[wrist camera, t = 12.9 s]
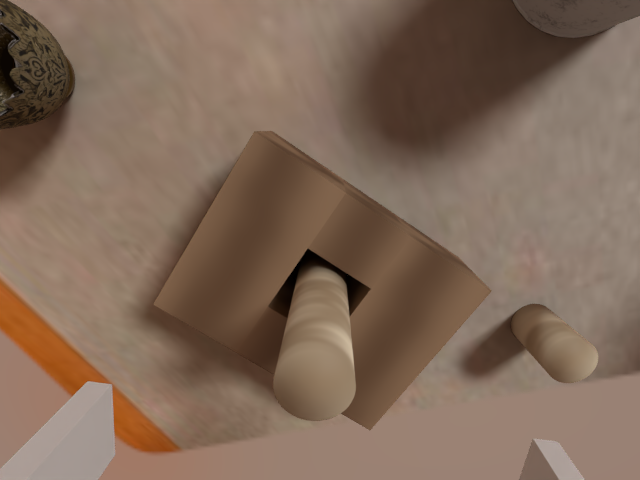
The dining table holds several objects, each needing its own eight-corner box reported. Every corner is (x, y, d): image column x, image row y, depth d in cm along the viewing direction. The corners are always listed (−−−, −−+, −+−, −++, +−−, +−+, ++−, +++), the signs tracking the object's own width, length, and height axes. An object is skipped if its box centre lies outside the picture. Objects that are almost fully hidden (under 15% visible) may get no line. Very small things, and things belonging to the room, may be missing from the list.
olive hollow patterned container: (3, 126, 26) (-135, 125, 18) (-11, 6, 24) (-174, -54, 16) (111, 138, 26) (18, 142, 18) (106, 19, 24) (-2, -34, 16)
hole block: (458, 257, 28) (491, 290, 22) (363, 373, 30) (369, 430, 25) (272, 131, 25) (254, 131, 20) (189, 269, 28) (152, 304, 23)
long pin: (352, 256, 28) (372, 377, 14) (328, 289, 29) (326, 433, 15) (316, 233, 27) (301, 335, 14) (293, 267, 28) (257, 395, 15)
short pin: (562, 318, 29) (609, 356, 24) (533, 348, 29) (572, 391, 25) (530, 296, 28) (571, 330, 23) (501, 327, 29) (535, 367, 24)
